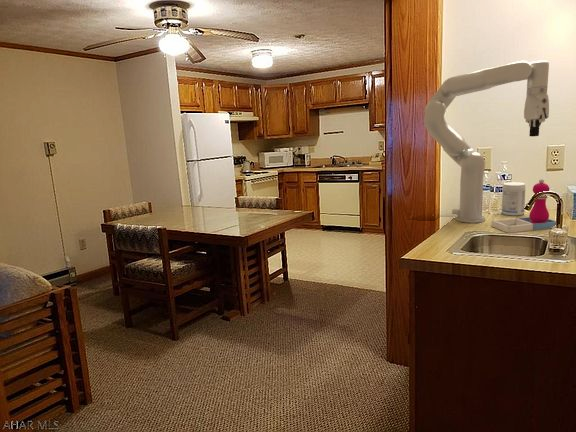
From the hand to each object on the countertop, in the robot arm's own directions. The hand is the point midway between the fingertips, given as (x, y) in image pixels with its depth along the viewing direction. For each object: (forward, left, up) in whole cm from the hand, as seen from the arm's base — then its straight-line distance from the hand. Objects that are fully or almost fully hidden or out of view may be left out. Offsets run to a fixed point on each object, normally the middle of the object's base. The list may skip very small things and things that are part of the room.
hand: (534, 136), depth 182 cm
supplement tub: (-10, +8, -37) cm, 39 cm away
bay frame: (+3, -13, -37) cm, 40 cm away
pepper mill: (+7, -9, -37) cm, 39 cm away
